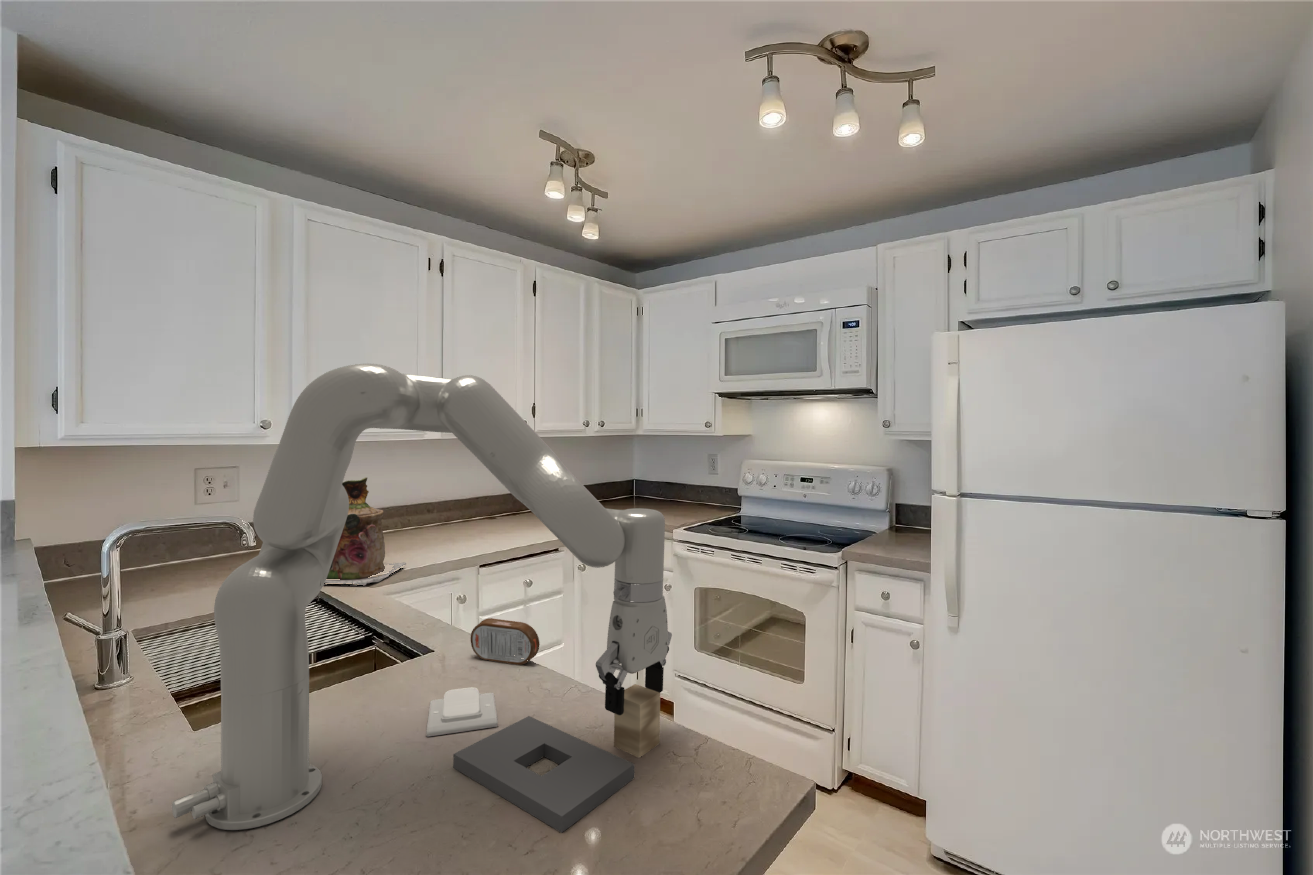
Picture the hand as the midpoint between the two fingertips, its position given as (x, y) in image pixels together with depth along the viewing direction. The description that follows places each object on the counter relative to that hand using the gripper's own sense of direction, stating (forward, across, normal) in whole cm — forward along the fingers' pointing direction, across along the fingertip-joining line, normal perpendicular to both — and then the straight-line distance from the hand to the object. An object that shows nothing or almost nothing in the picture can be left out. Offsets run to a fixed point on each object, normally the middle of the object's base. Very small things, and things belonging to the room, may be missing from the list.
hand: (634, 700), depth 90 cm
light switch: (+8, -10, +29) cm, 32 cm away
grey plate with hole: (+7, -14, +6) cm, 16 cm away
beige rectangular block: (+7, 0, 0) cm, 7 cm away
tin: (+8, +8, +42) cm, 43 cm away
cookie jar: (+9, +22, +134) cm, 136 cm away
